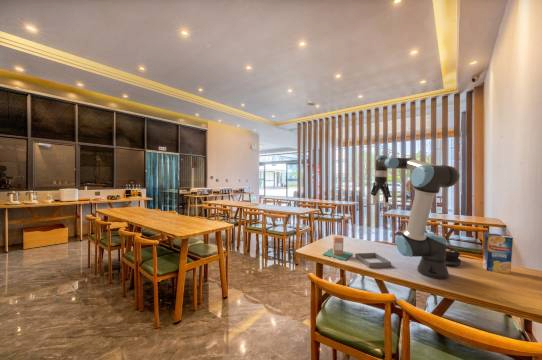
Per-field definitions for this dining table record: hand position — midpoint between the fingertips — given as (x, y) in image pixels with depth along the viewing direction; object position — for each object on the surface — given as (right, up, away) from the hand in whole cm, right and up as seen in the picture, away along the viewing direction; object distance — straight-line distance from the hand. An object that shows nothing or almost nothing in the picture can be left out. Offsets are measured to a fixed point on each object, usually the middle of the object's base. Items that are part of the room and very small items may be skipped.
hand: (379, 205), depth 172 cm
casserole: (+38, -36, -13) cm, 54 cm away
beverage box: (+59, -37, -28) cm, 75 cm away
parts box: (-33, -33, -7) cm, 47 cm away
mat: (-33, -34, -7) cm, 48 cm away
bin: (-14, -35, -19) cm, 42 cm away
